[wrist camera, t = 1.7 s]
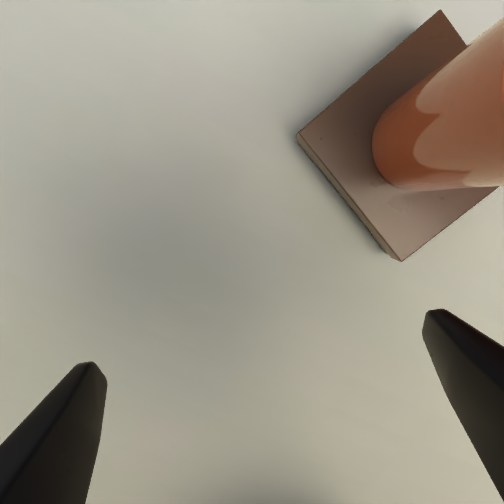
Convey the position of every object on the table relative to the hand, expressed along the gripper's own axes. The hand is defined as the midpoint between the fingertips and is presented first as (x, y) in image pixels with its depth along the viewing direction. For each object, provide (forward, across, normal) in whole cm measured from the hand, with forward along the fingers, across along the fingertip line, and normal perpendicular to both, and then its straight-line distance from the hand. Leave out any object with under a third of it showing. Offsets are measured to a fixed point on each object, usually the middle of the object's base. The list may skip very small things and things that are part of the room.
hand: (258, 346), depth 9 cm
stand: (+15, -10, +2) cm, 18 cm away
